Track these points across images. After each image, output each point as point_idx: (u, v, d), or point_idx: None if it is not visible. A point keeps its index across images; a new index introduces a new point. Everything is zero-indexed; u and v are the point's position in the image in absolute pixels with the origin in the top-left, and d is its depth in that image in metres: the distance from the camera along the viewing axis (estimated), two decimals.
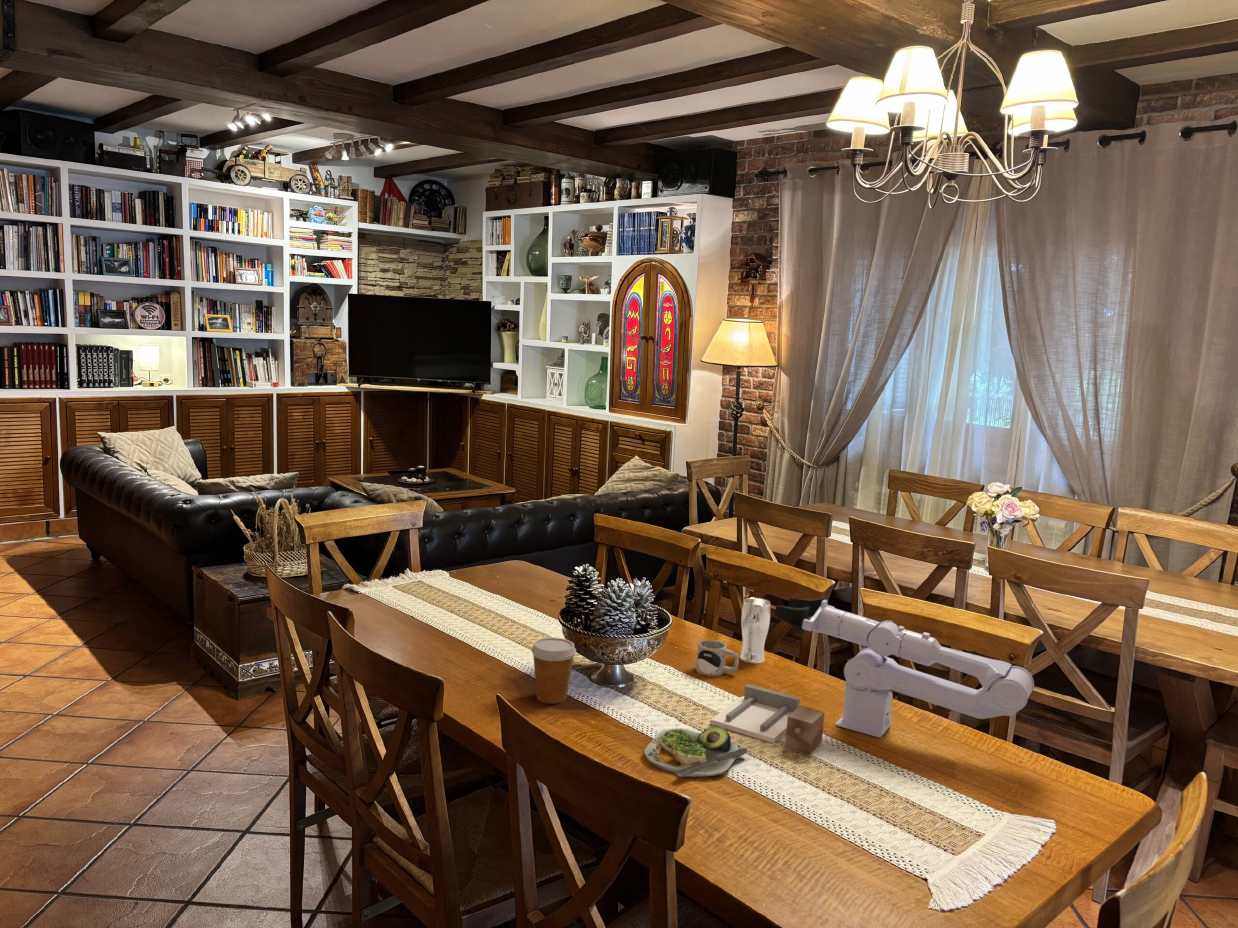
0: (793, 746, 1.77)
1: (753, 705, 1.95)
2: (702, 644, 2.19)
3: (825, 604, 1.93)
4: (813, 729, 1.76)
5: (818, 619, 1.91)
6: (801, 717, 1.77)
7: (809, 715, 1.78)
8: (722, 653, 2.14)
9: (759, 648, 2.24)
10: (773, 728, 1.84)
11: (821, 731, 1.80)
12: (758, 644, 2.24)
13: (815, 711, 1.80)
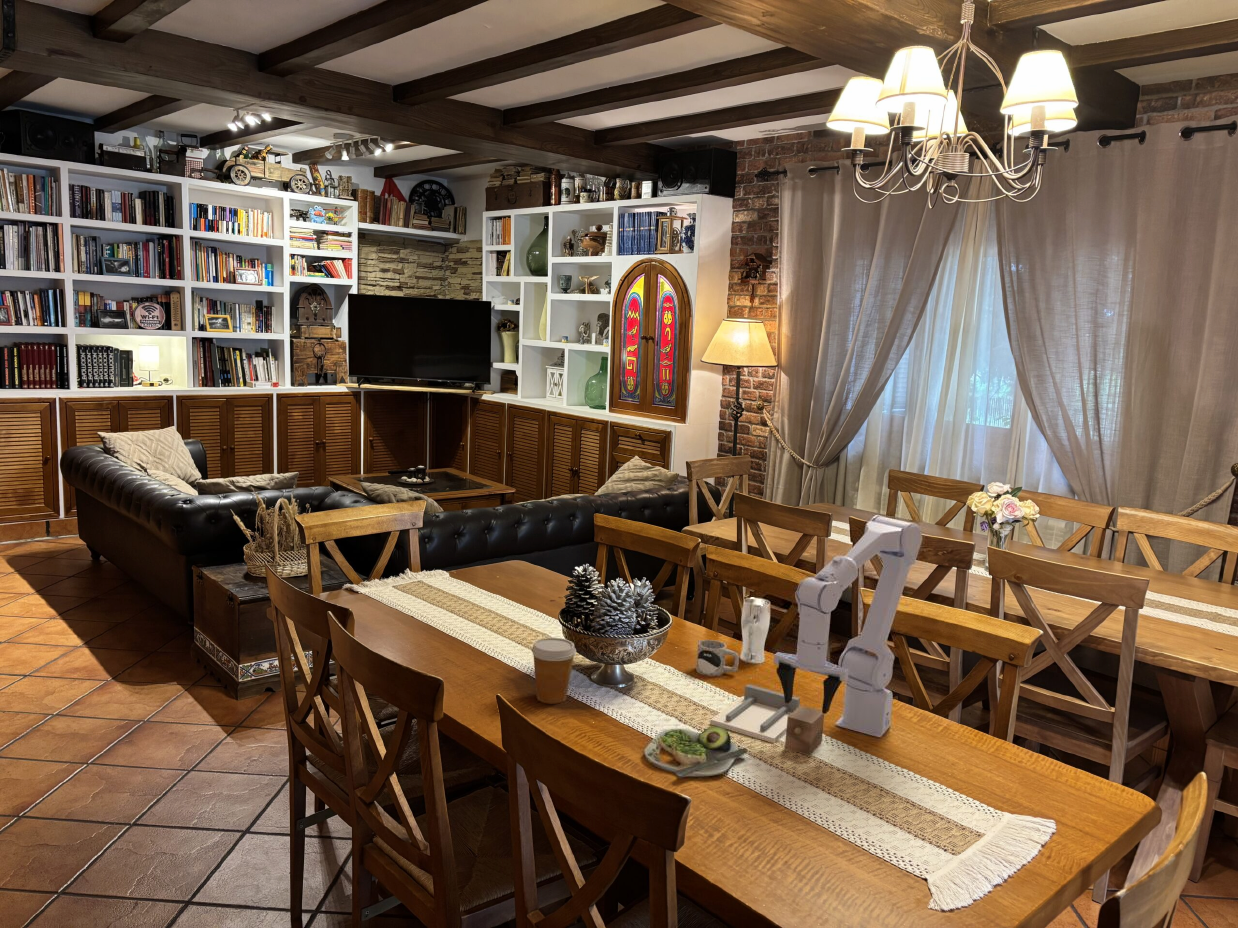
0: (793, 746, 1.77)
1: (753, 705, 1.95)
2: (702, 644, 2.19)
3: (805, 666, 1.75)
4: (813, 729, 1.76)
5: (824, 666, 1.75)
6: (801, 717, 1.77)
7: (809, 715, 1.78)
8: (722, 653, 2.14)
9: (759, 648, 2.24)
10: (773, 728, 1.84)
11: (821, 731, 1.80)
12: (758, 644, 2.24)
13: (815, 711, 1.80)
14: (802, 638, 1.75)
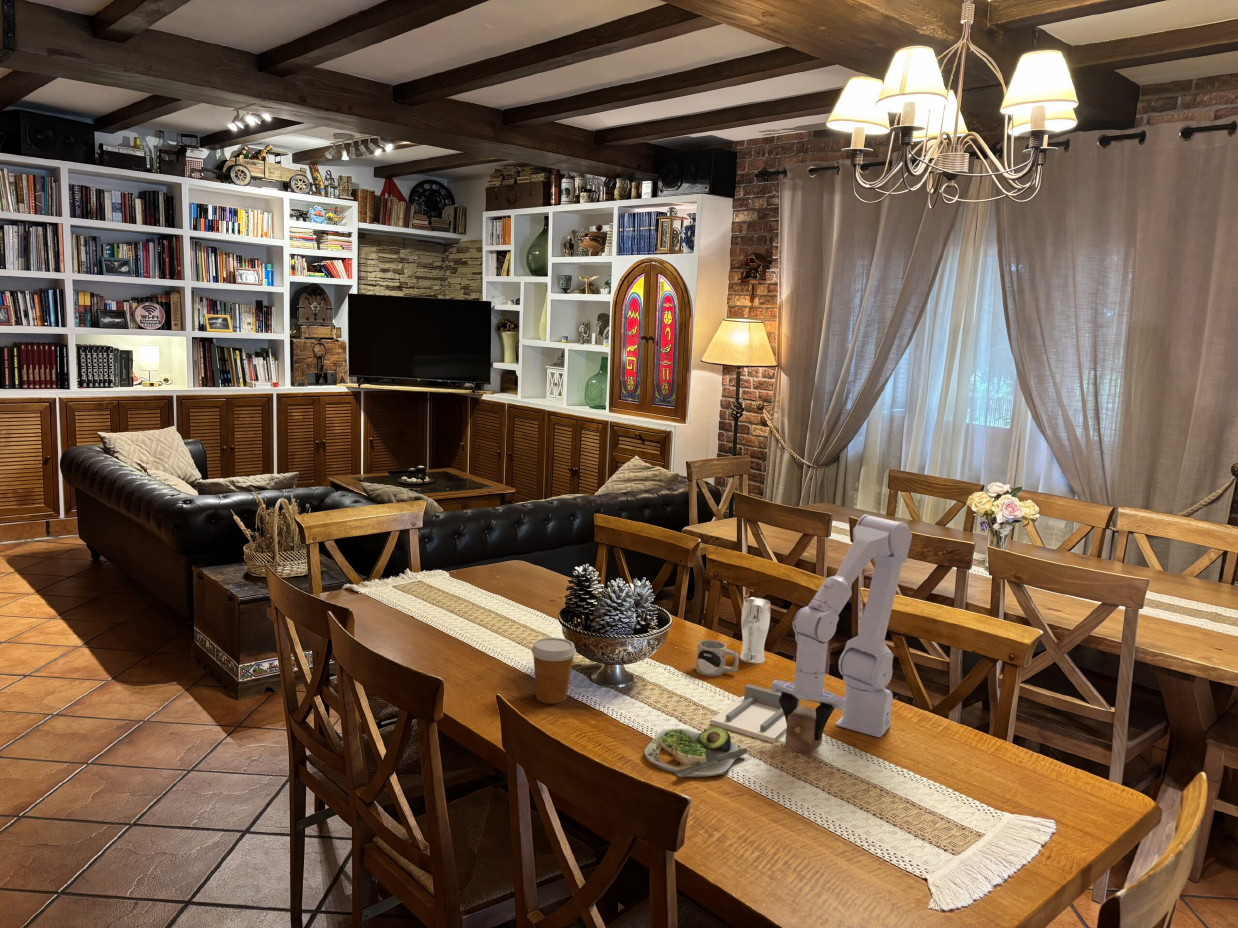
0: (793, 746, 1.77)
1: (753, 705, 1.95)
2: (702, 644, 2.19)
3: (803, 695, 1.75)
4: (813, 728, 1.76)
5: (821, 695, 1.76)
6: (801, 716, 1.77)
7: (810, 715, 1.78)
8: (722, 653, 2.14)
9: (759, 648, 2.24)
10: (773, 728, 1.84)
11: None
12: (758, 644, 2.24)
13: (815, 711, 1.80)
14: (799, 667, 1.76)
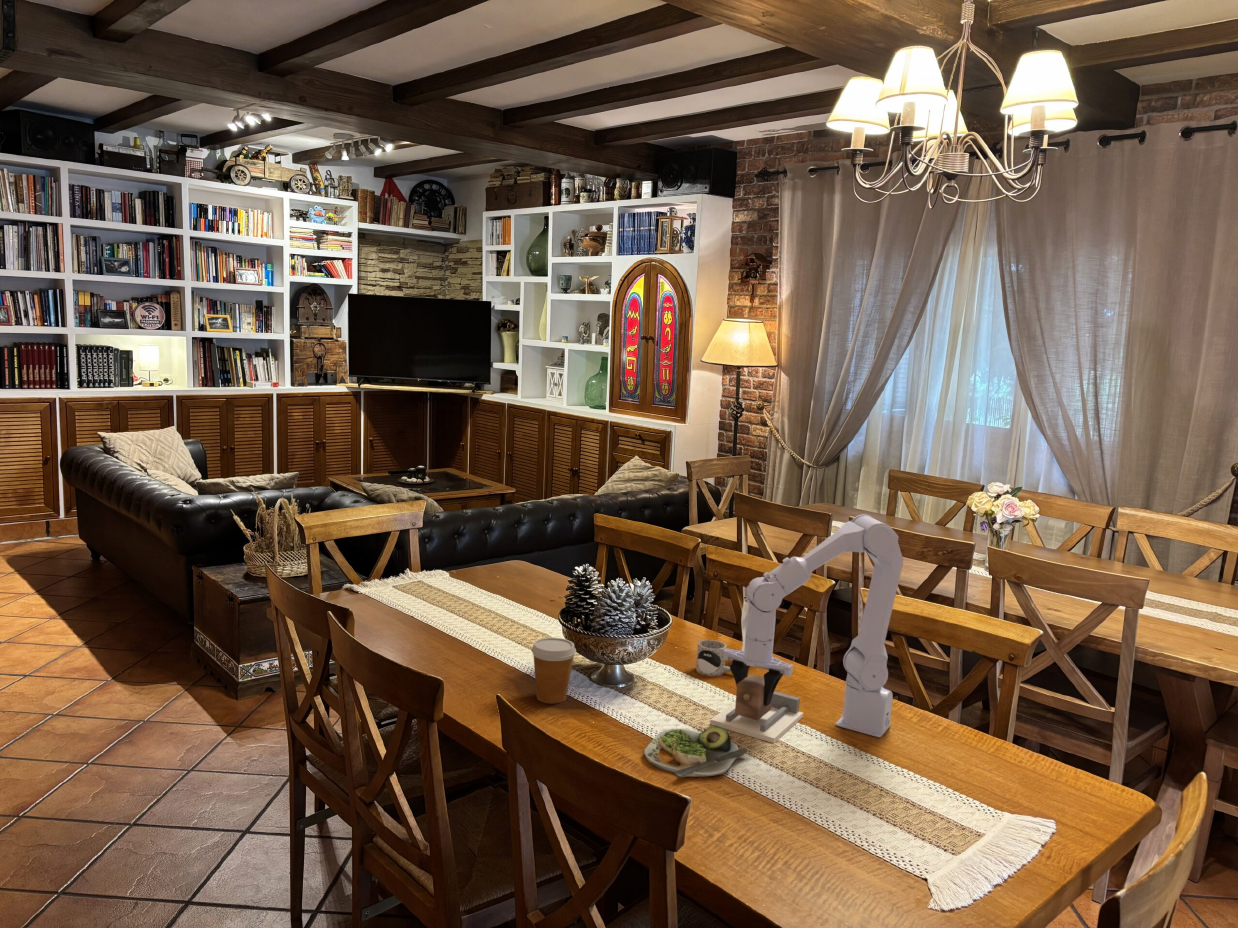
0: (742, 712, 1.85)
1: None
2: (702, 644, 2.19)
3: (752, 661, 1.83)
4: (761, 695, 1.83)
5: (770, 661, 1.84)
6: (750, 684, 1.85)
7: (758, 682, 1.86)
8: (722, 653, 2.14)
9: None
10: (773, 728, 1.84)
11: None
12: None
13: None
14: (746, 633, 1.85)
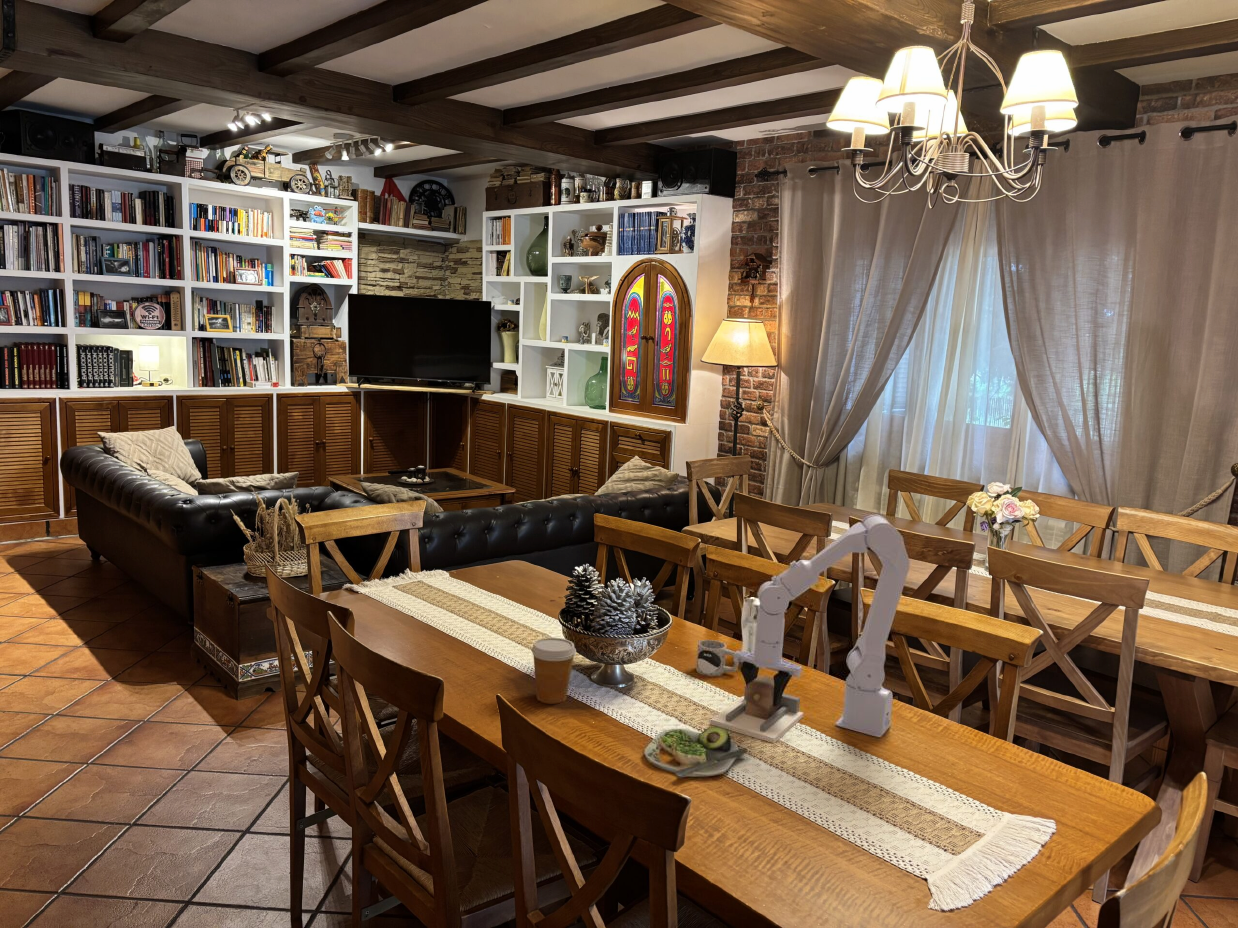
0: (752, 712, 1.90)
1: None
2: (702, 644, 2.19)
3: (762, 663, 1.88)
4: (770, 696, 1.88)
5: (779, 663, 1.89)
6: (760, 684, 1.90)
7: (768, 683, 1.91)
8: (722, 653, 2.14)
9: None
10: (773, 728, 1.84)
11: None
12: None
13: None
14: None
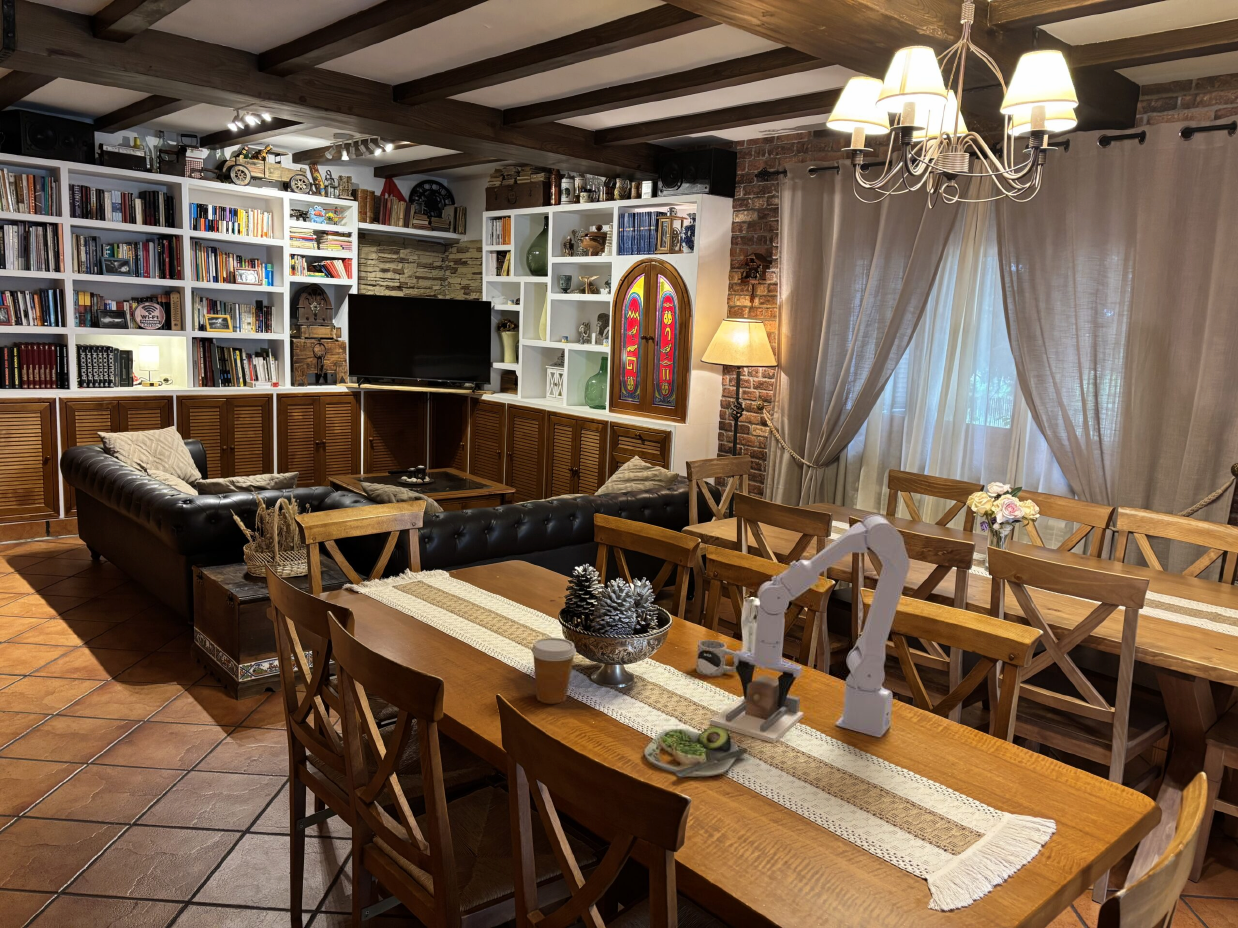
0: (752, 712, 1.90)
1: None
2: (702, 644, 2.19)
3: (762, 663, 1.88)
4: (770, 696, 1.88)
5: (779, 663, 1.89)
6: (760, 685, 1.90)
7: (768, 683, 1.91)
8: (722, 653, 2.14)
9: None
10: (773, 728, 1.84)
11: None
12: None
13: (774, 680, 1.93)
14: None
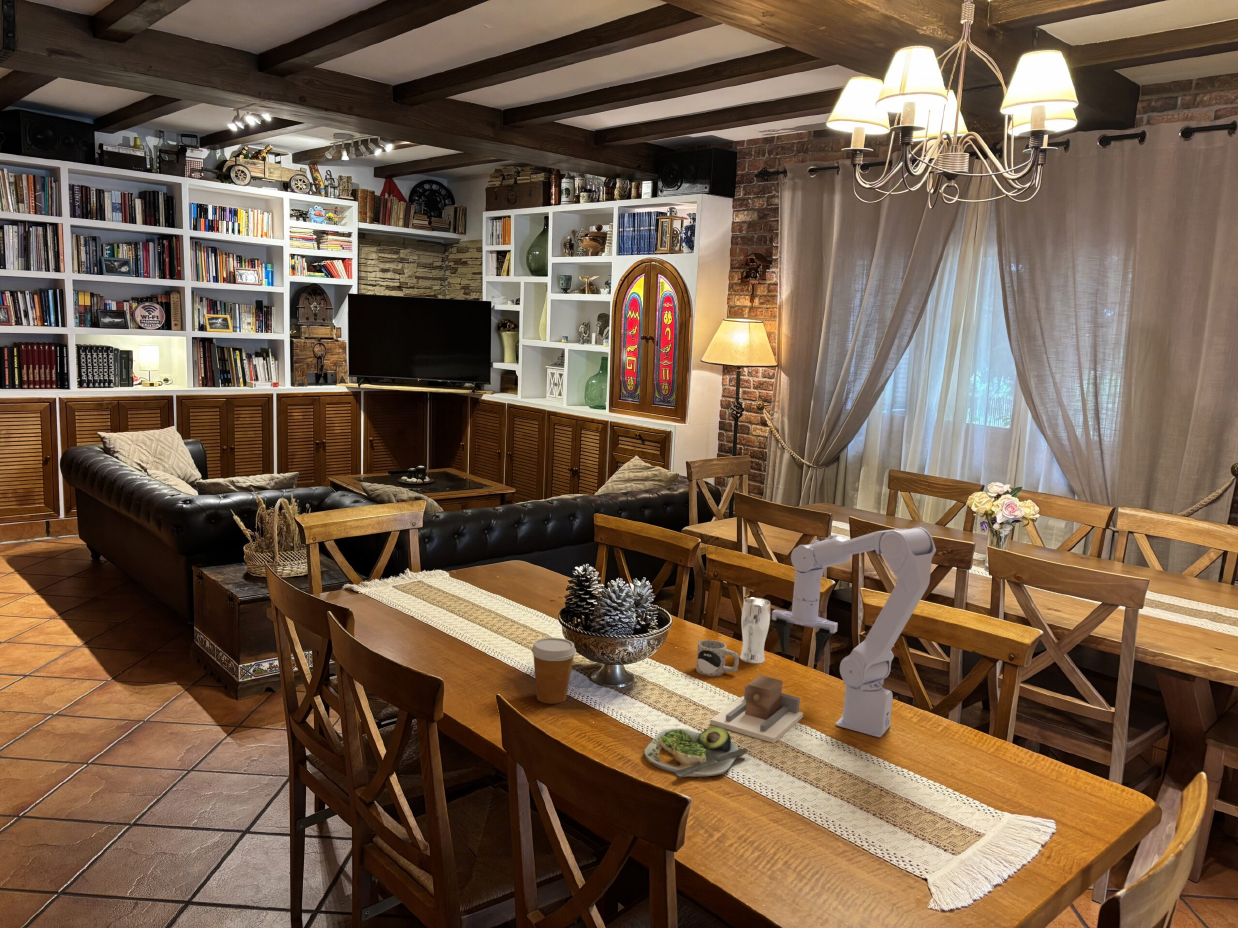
0: (752, 712, 1.90)
1: None
2: (702, 644, 2.19)
3: (800, 620, 1.99)
4: (770, 696, 1.88)
5: (816, 620, 2.00)
6: (760, 685, 1.90)
7: (768, 683, 1.91)
8: (722, 653, 2.14)
9: (759, 648, 2.24)
10: (773, 728, 1.84)
11: (779, 698, 1.93)
12: (758, 644, 2.24)
13: (774, 680, 1.93)
14: None
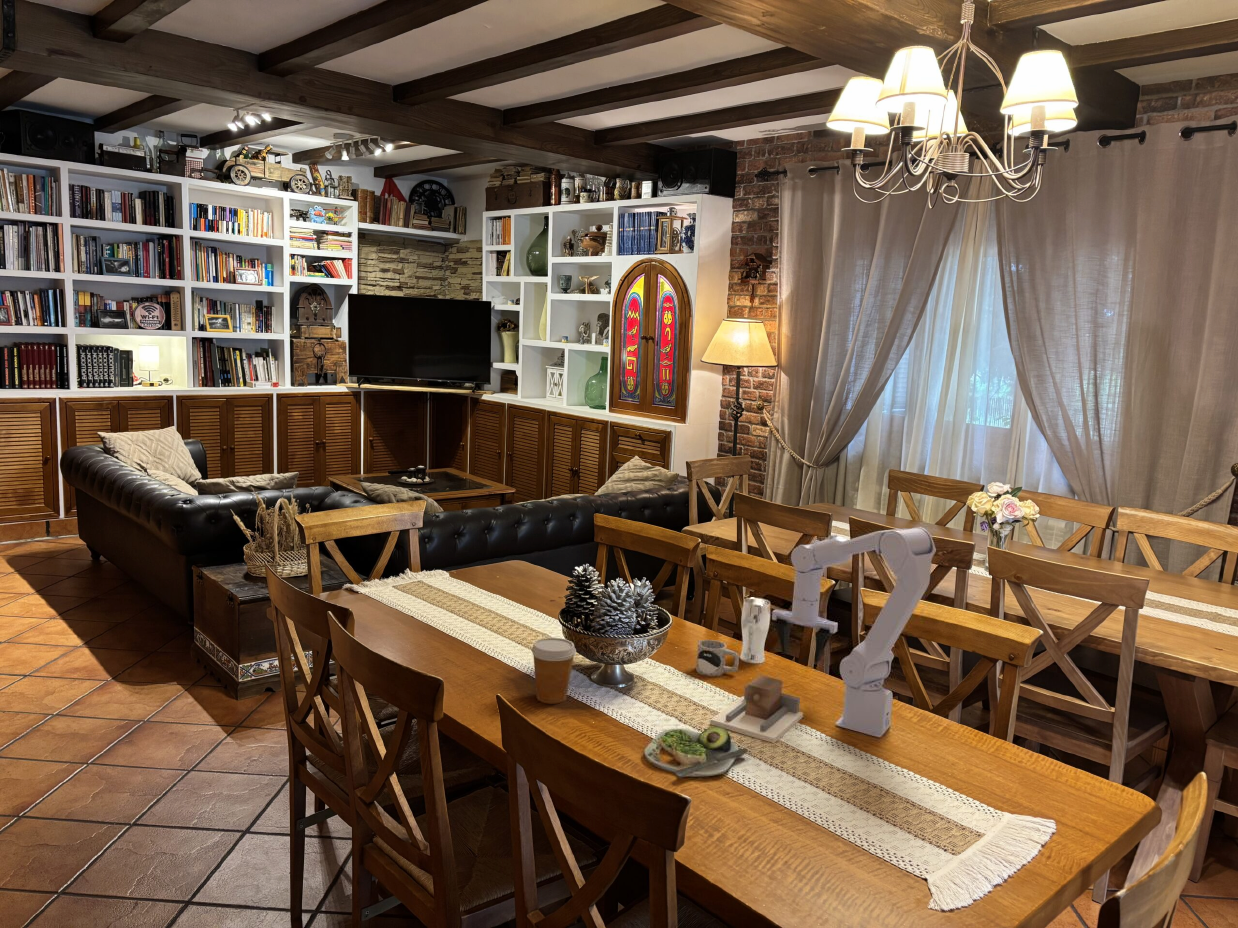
0: (752, 712, 1.90)
1: None
2: (702, 644, 2.19)
3: (800, 620, 1.99)
4: (770, 696, 1.88)
5: (816, 620, 2.00)
6: (760, 685, 1.90)
7: (768, 683, 1.91)
8: (722, 653, 2.14)
9: (759, 648, 2.24)
10: (773, 728, 1.84)
11: (779, 698, 1.93)
12: (758, 644, 2.24)
13: (774, 680, 1.93)
14: None
